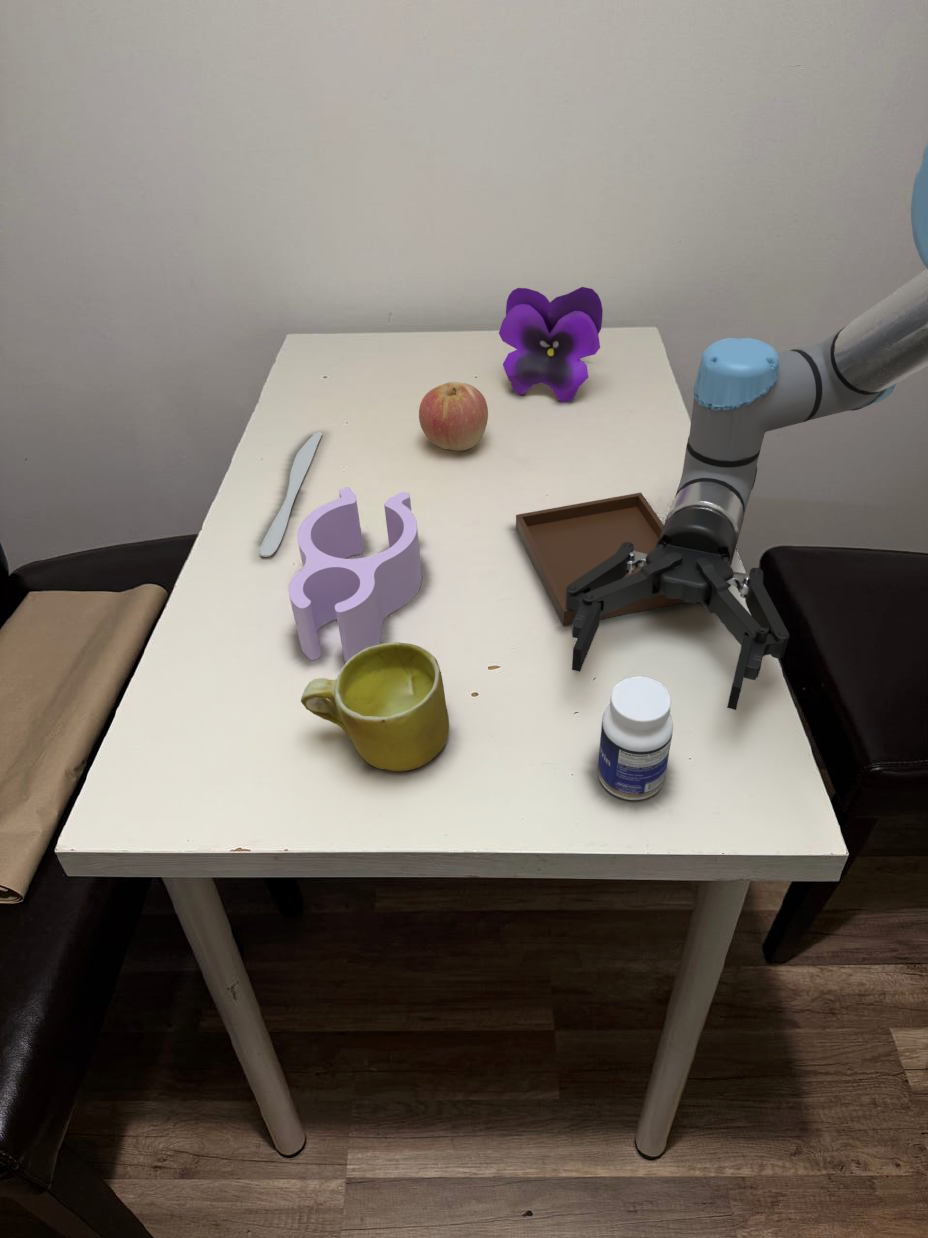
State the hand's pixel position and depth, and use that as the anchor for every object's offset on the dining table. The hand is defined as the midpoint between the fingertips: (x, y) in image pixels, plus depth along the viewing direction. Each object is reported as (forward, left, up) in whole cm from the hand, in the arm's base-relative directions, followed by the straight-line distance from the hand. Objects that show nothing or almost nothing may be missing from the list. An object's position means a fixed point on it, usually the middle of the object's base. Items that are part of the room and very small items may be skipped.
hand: (653, 679), depth 76 cm
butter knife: (+47, +27, -6) cm, 55 cm away
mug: (+5, +23, -6) cm, 25 cm away
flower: (+65, -13, -6) cm, 67 cm away
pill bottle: (-5, +3, -6) cm, 9 cm away
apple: (+52, +5, -6) cm, 53 cm away
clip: (+25, +22, -6) cm, 34 cm away
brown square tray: (+23, -5, -6) cm, 24 cm away
